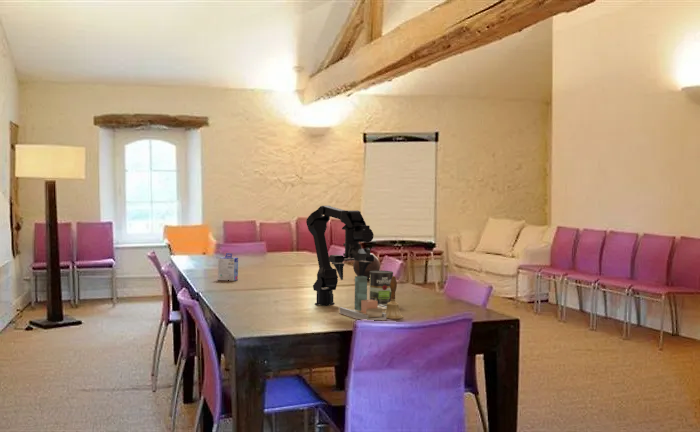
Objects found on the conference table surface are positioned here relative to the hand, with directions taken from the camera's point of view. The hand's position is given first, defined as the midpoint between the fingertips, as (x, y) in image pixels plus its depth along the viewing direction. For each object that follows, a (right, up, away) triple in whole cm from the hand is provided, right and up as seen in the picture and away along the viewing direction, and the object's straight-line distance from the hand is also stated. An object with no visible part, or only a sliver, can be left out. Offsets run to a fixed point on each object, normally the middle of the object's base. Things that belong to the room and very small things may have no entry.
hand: (351, 279), depth 277 cm
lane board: (+8, -13, -10) cm, 18 cm away
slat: (+6, -12, -15) cm, 20 cm away
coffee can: (+13, -13, +19) cm, 26 cm away
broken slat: (+10, -13, -4) cm, 17 cm away
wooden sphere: (+9, -10, +102) cm, 103 cm away
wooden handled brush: (+16, -14, -12) cm, 24 cm away
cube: (+7, -11, -17) cm, 21 cm away
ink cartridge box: (-67, -9, +91) cm, 114 cm away
